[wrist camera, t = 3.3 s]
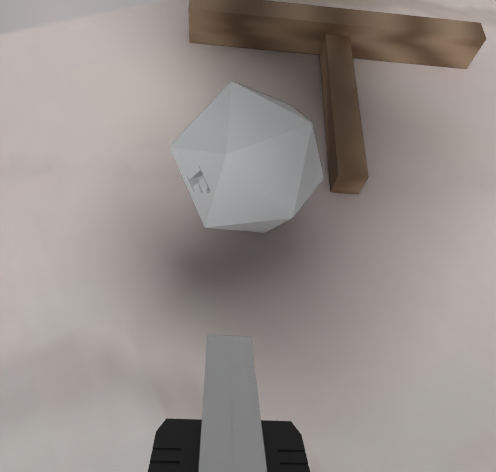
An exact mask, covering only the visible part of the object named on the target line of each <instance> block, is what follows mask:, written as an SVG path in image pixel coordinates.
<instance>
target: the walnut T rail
mask: <svg viewBox="0 0 496 472" xmlns="http://www.w3.org/2000/svg"><path fill="white" fill-rule="evenodd" d="M189 37H190V42H192V43H202V44H213V45H223V46H233V47H244V48H254V49H265V50H275V51H285V52H296V53H306V54H317V55H320V65H321V78H322V90H323V103H324V115H325V128H326V140H327V153H328V166H329V178H330V191H331V192H336V193H350V194H359V193H360V191H361V189H362V188H363V186H364V184H365V182H366V181H367V179H368V171H367V163H366V156H365V148H364V141H363V133H362V125H361V118H360V110H359V103H358V95H357V87H356V80H355V72H354V65H353V58H358V59H369V60H379V61H389V62H400V63H410V64H421V65H431V66H441V67H452V68H462V69H467V67H468V66H469V64H470V63H471V61H472V60H473V58H474V57H475V55H476V54H477V52H478V51H479V49H480V48H481V46H482V45H483V43H484V42H485V40H486V37H485V34H484V31H483V28H482V25H481V23H477V22H467V21H457V20H448V19H438V18H429V17H419V16H409V15H400V14H390V13H381V12H371V11H361V10H352V9H342V8H333V7H323V6H313V5H304V4H294V3H285V2H275V1H266V0H190V3H189Z"/></svg>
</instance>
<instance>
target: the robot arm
mask: <svg viewBox="0 0 496 472" xmlns="http://www.w3.org/2000/svg"><path fill="white" fill-rule="evenodd" d="M148 472H310V469H309V466H308V461H307V457H306V453H305V448H304V444H303V440H302V436H301V434H300V433H299V431H298V430H297V429H296V427H295V426H294V425H293V423H292V422H291V421H263V420H261V417H260V409H259V401H258V392H257V384H256V376H255V368H254V359H253V351H252V343H251V337H249V336H227V335H208V337H207V352H206V367H205V382H204V397H203V412H202V420H193V419H166V420H165V421H164V422H163V424H162V425H161V426H160V428H159V429H158V430H157V431H156V435H155V440H154V445H153V451H152V454H151V459H150V464H149V469H148Z"/></svg>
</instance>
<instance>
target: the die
mask: <svg viewBox="0 0 496 472" xmlns="http://www.w3.org/2000/svg"><path fill="white" fill-rule="evenodd" d="M169 148H170V150H171V152H172V154H173V157H174V159H175V161H176V164H177V166H178V168H179V170H180V173H181V175H182V177H183V179H184V182H185V184H186V186H187V188H188V191H189V193H190V195H191V198H192V200H193V202H194V204H195V207H196V209H197V211H198V213H199V216H200V218H201V220H202V223H203V225H204V227H205V228H214V229H226V230H238V231H250V232H262V233H266V232H268V231H270V230H271V229H273V228H275V227H277V226H279V225H281V224H283V223H284V222H286V221H288V220H290V219H292V218H293V217H294V216H295V215H296V213H297V212H298V211H299V210H300V208H301V207H302V206H303V205H304V203H305V202H306V201H307V199H308V198H309V197H310V196H311V194H312V193H313V192H314V191H315V189H316V188H317V187H318V186H319V184H320V183H321V182H322V180H323V179H324V177H323V172H322V168H321V163H320V158H319V153H318V148H317V143H316V138H315V134H314V129H313V124H312V123H311V122H310V121H309V120H308V119H306V118H305V117H304V116H303V115H301V114H300V113H299V112H298V111H297V110H295V109H294V108H293V107H292V106H290V105H288V104H285V103H283V102H281V101H278V100H276V99H273V98H271V97H269V96H266V95H264V94H261V93H259V92H257V91H254V90H252V89H249V88H247V87H245V86H242V85H240V84H237V83H235V82H233V81H231V82H230V83H229V84H228V85H227V86H226V87H225V88H224V89H223V90H222V92H221V93H220V94H219V95H218V96H217V97H216V98H215V99H214V100H213V101H212V102H211V103H210V104H209V105H208V106H207V107H206V109H205V110H204V111H203V112H202V113H201V114H200V115H199V116H198V117H197V118H196V119H195V120H194V121H193V122H192V123H191V124H190V126H189V127H188V128H187V129H186V130H185V131H184V132H183V133H182V134H181V135H180V136H179V137H178V138H177V139H176V140H175V141H174V142H173V144H172V145H171V146H170V147H169Z"/></svg>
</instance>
